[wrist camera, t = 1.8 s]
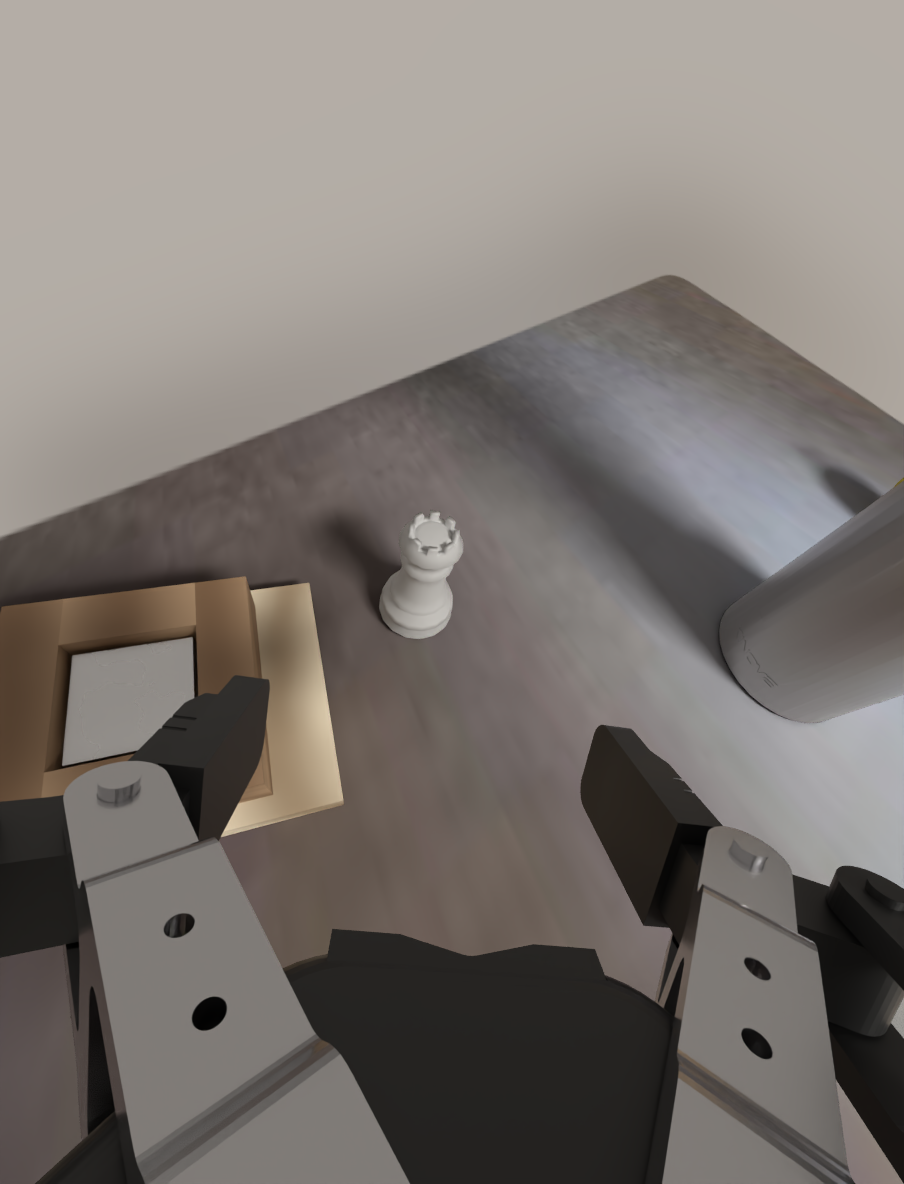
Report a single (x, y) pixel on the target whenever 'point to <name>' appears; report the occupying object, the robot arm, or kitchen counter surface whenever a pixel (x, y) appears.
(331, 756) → the press socket
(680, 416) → the kitchen counter surface
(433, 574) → the rook chess piece
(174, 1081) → the robot arm
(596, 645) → the kitchen counter surface
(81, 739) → the plate
